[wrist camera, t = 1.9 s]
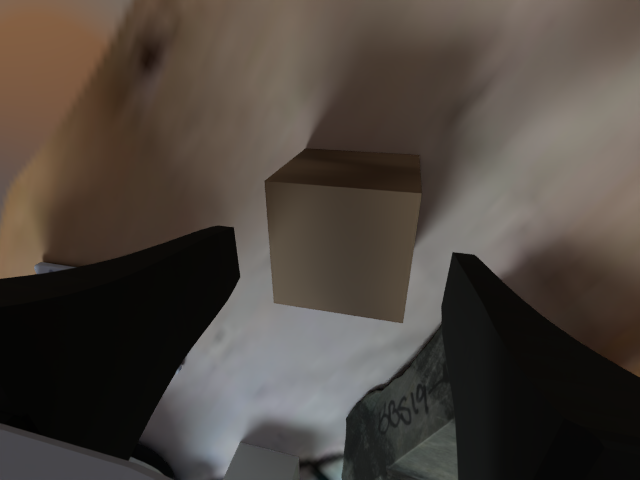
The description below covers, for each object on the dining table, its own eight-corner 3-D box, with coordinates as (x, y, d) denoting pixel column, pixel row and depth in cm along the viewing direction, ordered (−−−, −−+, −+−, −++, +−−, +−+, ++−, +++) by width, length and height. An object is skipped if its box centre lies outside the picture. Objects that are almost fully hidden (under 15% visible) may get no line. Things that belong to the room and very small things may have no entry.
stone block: (336, 424, 24) (318, 506, 20) (457, 282, 17) (472, 361, 13) (447, 482, 24) (455, 578, 20) (617, 366, 17) (691, 475, 12)
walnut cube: (307, 244, 18) (273, 302, 14) (305, 148, 16) (264, 181, 11) (405, 256, 17) (402, 323, 12) (419, 154, 14) (421, 193, 10)
